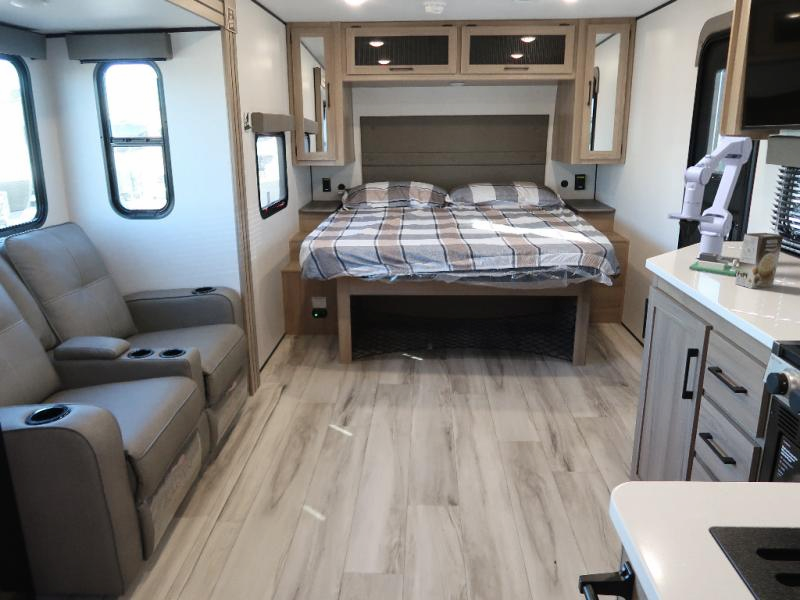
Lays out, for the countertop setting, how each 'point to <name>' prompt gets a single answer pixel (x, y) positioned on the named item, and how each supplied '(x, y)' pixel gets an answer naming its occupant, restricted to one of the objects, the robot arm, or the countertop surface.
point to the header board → (716, 267)
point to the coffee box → (758, 260)
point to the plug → (708, 257)
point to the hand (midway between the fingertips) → (686, 241)
